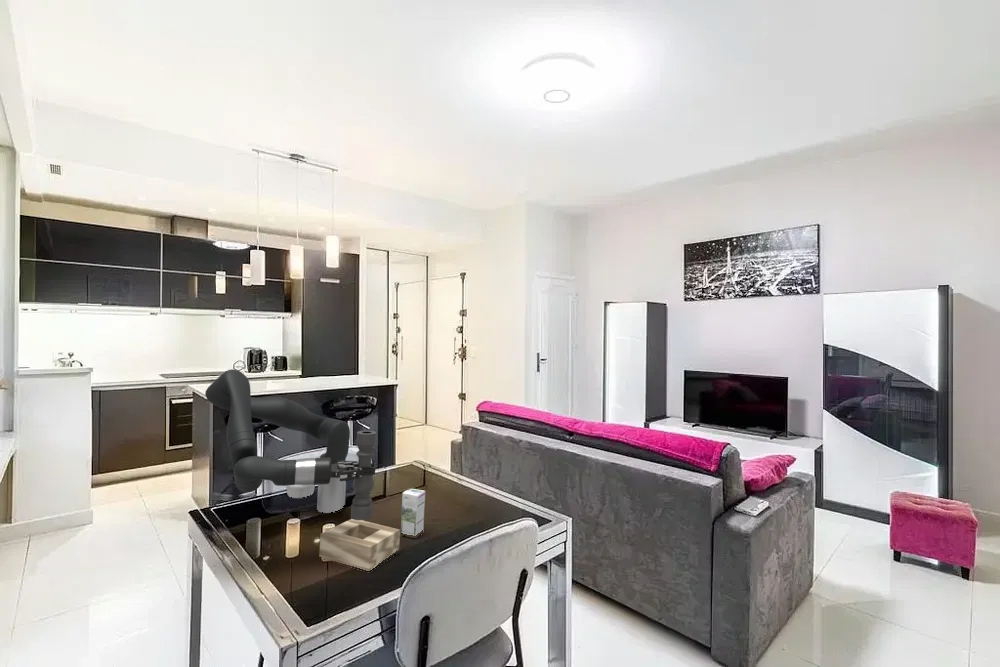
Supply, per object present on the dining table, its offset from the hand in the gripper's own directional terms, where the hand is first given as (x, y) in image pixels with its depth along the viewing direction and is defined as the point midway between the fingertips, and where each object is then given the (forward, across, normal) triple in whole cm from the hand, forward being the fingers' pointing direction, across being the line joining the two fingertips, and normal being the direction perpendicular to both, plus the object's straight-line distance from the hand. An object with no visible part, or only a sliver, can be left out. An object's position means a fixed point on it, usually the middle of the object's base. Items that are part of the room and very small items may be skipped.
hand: (373, 468), depth 143 cm
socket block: (-2, 0, +26) cm, 26 cm away
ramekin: (-20, +60, +26) cm, 69 cm away
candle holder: (-3, 0, +14) cm, 14 cm away
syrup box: (+15, +11, +26) cm, 32 cm away
